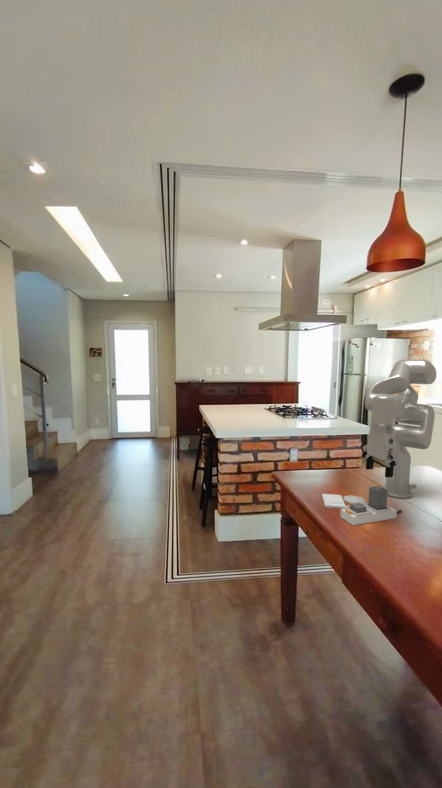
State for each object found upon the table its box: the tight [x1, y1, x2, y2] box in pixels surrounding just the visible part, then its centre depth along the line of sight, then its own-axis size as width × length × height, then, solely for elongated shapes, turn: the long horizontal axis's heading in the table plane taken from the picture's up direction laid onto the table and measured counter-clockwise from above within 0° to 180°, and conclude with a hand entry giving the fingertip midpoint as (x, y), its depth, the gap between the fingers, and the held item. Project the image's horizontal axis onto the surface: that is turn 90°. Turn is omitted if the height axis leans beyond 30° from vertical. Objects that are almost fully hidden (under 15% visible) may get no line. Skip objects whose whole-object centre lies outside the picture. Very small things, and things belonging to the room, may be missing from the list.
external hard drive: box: [321, 493, 346, 510], centre depth 143 cm, size 2×8×12 cm
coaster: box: [342, 494, 367, 505], centre depth 145 cm, size 9×9×1 cm
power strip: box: [339, 502, 403, 526], centre depth 129 cm, size 26×7×5 cm, turn 108°
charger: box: [367, 485, 388, 510], centre depth 129 cm, size 4×4×8 cm
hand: (378, 472), depth 128 cm, fingers open, 9 cm apart
